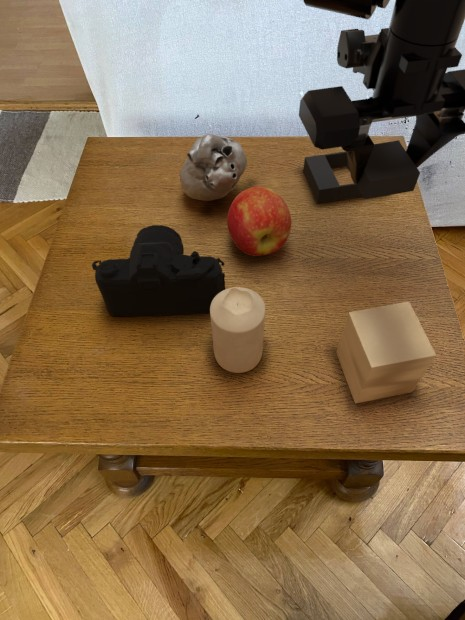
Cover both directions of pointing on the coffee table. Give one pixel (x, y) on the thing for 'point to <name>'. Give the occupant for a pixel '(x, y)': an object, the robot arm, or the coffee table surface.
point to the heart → (212, 167)
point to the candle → (237, 328)
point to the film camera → (159, 277)
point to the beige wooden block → (383, 351)
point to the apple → (259, 221)
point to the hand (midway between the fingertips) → (379, 177)
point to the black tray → (328, 178)
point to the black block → (388, 171)
